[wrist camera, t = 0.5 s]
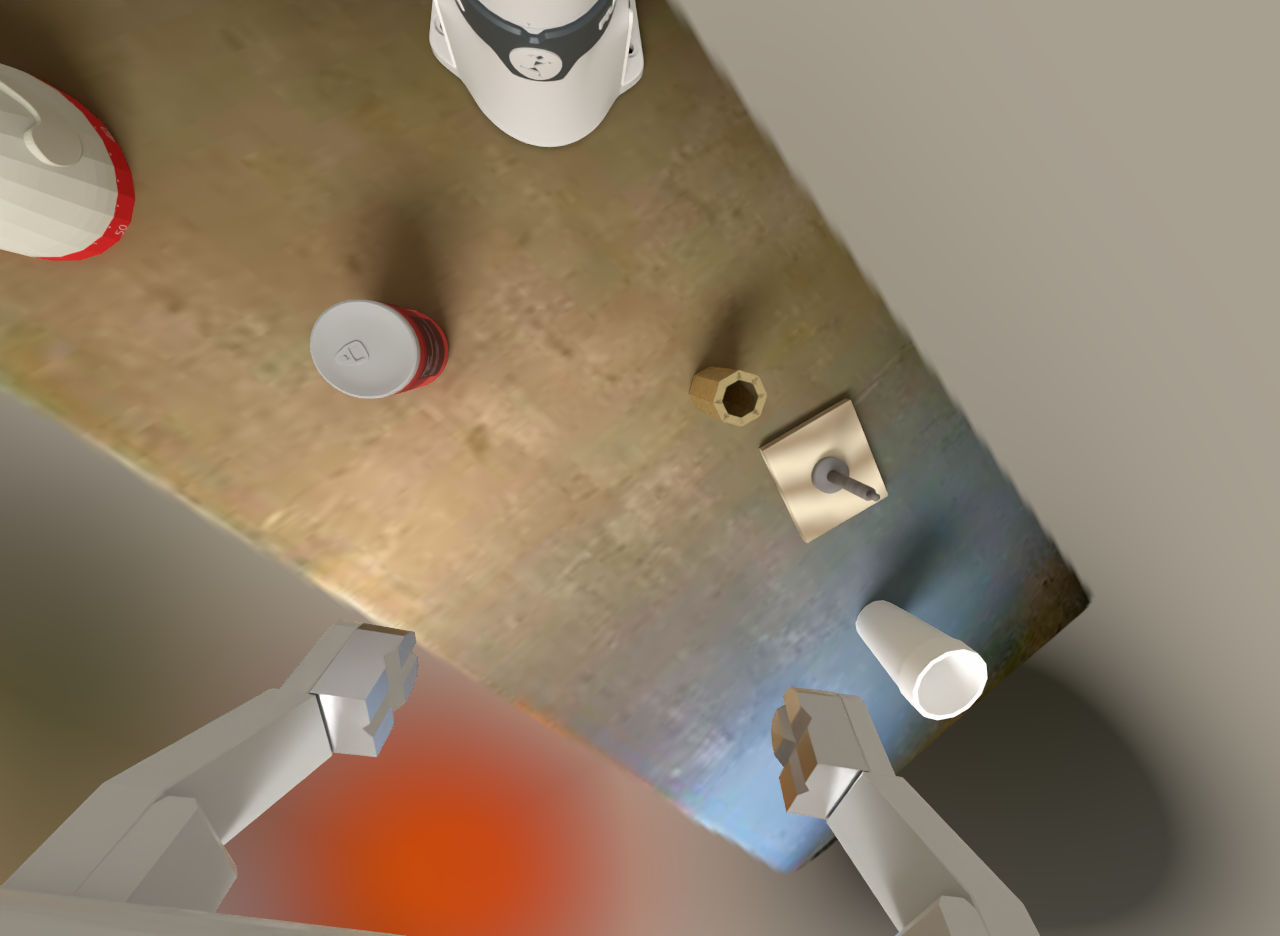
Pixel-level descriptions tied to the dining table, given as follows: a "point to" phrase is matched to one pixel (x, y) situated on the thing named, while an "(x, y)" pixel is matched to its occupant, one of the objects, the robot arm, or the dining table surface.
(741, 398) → the collar
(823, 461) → the shaft stand
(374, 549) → the dining table surface
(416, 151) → the dining table surface
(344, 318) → the canned food
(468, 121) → the dining table surface
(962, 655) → the foam cup
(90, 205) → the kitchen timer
